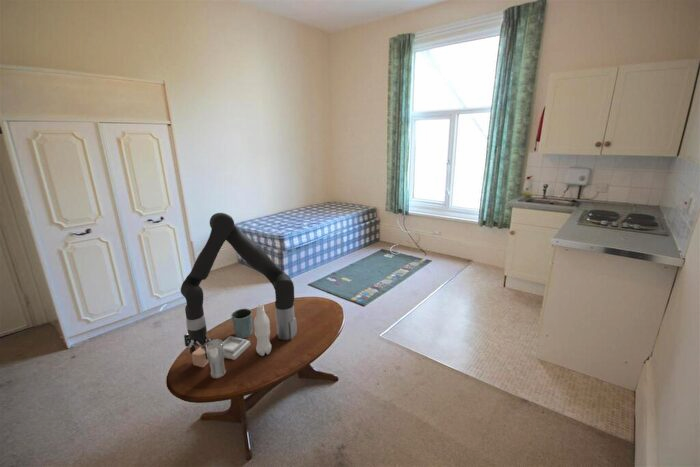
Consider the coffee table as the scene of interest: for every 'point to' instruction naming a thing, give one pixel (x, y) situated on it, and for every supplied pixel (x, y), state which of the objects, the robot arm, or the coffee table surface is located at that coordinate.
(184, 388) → the coffee table surface
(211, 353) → the beer glass
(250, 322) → the teal cup
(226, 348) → the grey stand
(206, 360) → the terracotta block
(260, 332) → the water bottle
